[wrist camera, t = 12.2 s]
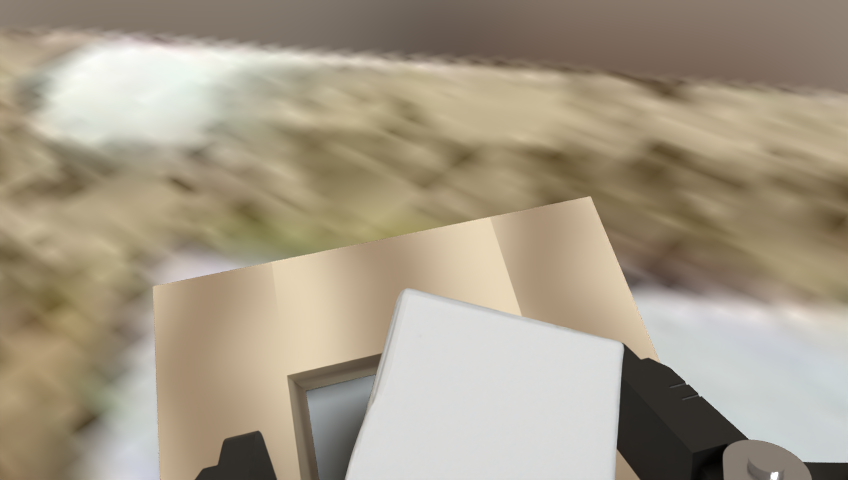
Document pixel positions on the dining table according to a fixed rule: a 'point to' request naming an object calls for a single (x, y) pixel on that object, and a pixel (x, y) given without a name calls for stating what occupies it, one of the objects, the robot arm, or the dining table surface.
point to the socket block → (362, 323)
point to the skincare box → (488, 398)
